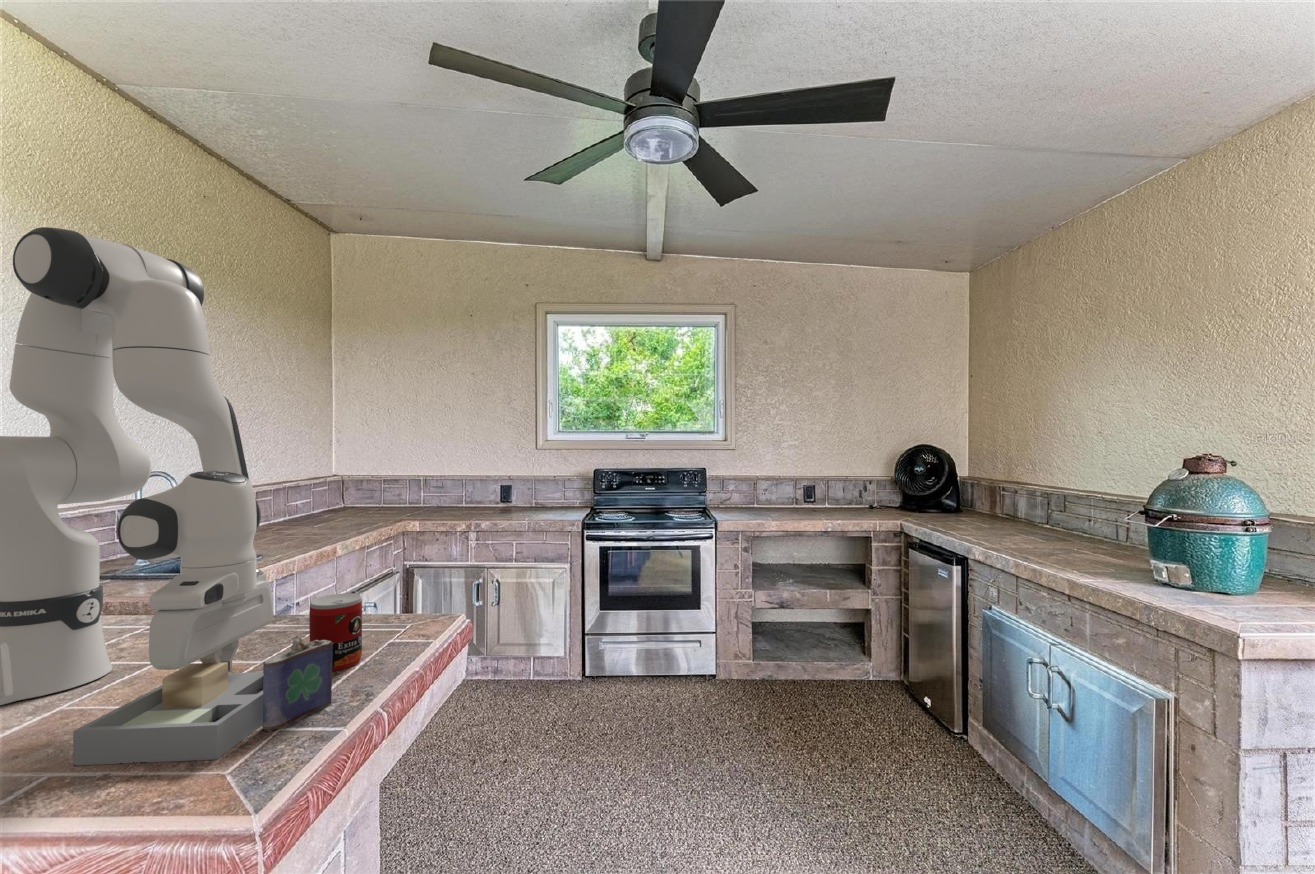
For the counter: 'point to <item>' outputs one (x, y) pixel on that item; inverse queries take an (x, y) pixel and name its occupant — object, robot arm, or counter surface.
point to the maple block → (194, 685)
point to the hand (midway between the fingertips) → (219, 676)
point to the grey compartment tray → (173, 727)
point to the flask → (297, 683)
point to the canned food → (338, 626)
